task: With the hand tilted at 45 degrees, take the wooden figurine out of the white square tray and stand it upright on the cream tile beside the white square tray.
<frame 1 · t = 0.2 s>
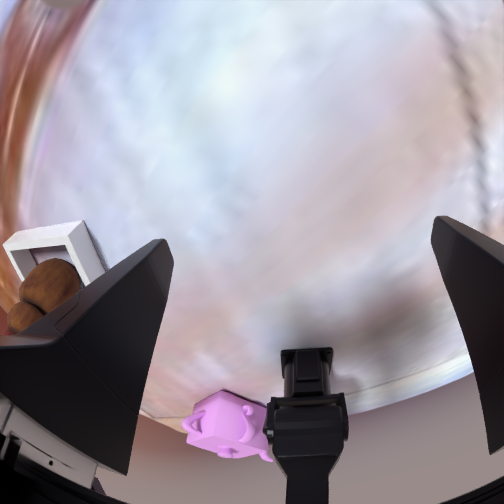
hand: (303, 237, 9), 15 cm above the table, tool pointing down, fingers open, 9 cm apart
white square tray: (66, 271, 31), on the table
teapot: (234, 405, 46), on the table
wooden figurine: (66, 270, 31), resting in white square tray
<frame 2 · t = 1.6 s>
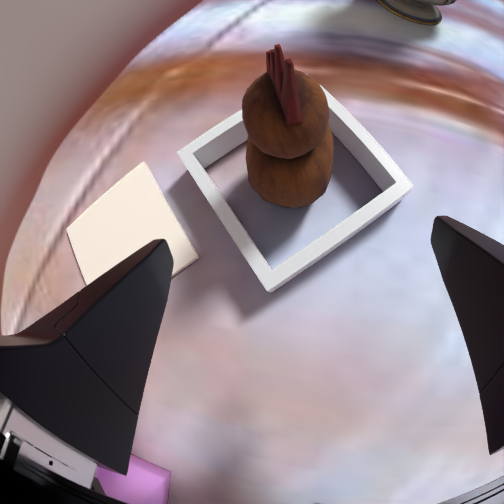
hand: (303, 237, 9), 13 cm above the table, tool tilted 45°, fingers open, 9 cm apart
white square tray: (293, 179, 23), on the table
teapot: (130, 485, 21), on the table
wooden figurine: (293, 180, 24), resting in white square tray
apothecary jar: (409, 6, 25), on the table
tile: (123, 241, 25), on the table
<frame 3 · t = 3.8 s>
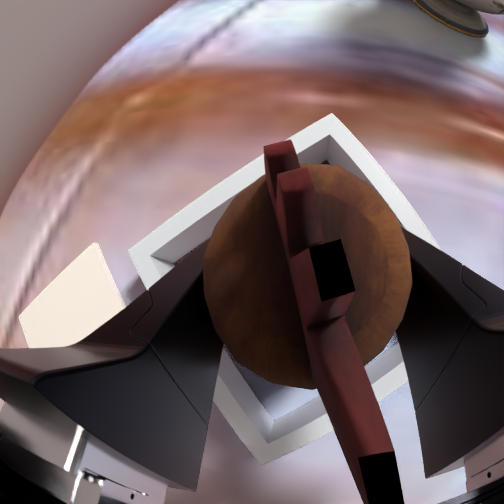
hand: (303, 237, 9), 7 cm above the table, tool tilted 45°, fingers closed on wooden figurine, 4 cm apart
white square tray: (304, 290, 16), on the table
wooden figurine: (304, 290, 16), resting in white square tray, touching gripper
apothecary jar: (449, 10, 17), on the table
tile: (79, 349, 18), on the table
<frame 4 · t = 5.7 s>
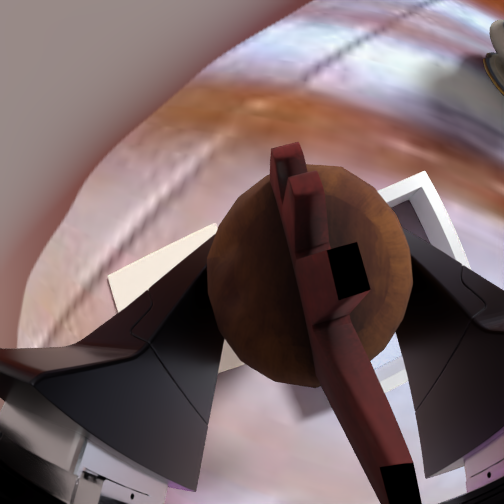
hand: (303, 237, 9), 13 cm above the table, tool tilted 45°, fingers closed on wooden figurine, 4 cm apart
white square tray: (382, 290, 21), on the table
wooden figurine: (303, 289, 16), point 6 cm above the table, touching gripper
tile: (180, 313, 23), on the table
when the fingers open (8 cm above the table, at t = 7.9 s): wooden figurine stays where it is, resting on tile.
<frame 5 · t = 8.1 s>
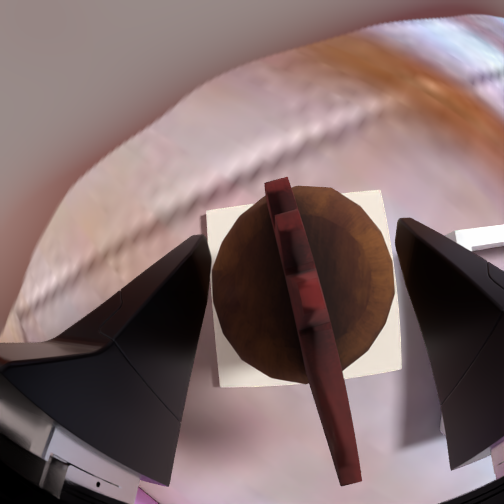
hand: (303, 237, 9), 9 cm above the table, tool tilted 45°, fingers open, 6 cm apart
wooden figurine: (303, 292, 17), resting on tile
tile: (304, 290, 17), on the table
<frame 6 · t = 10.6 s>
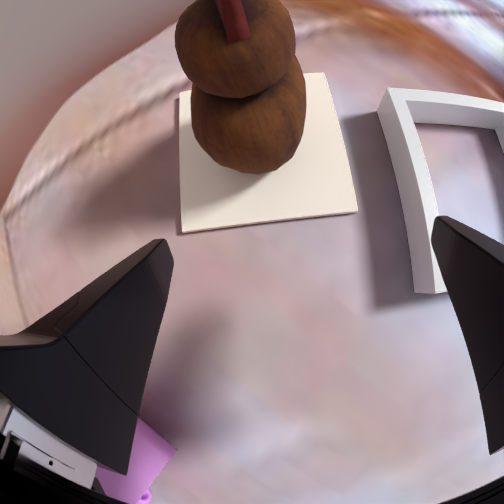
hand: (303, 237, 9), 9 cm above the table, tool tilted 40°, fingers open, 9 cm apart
white square tray: (471, 190, 17), on the table
teapot: (101, 437, 18), on the table
wooden figurine: (259, 142, 19), resting on tile
tile: (260, 143, 19), on the table
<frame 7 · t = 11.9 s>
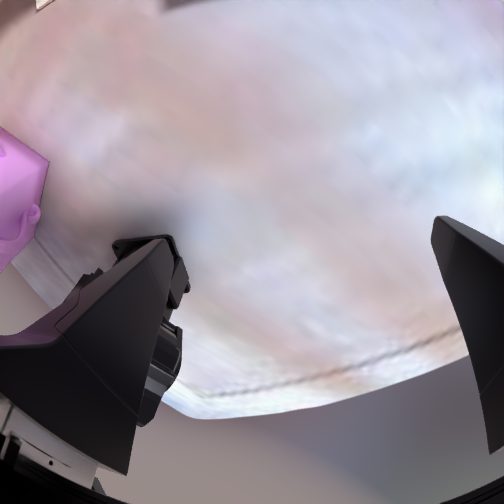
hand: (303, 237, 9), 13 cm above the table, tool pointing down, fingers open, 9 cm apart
teapot: (16, 181, 23), on the table
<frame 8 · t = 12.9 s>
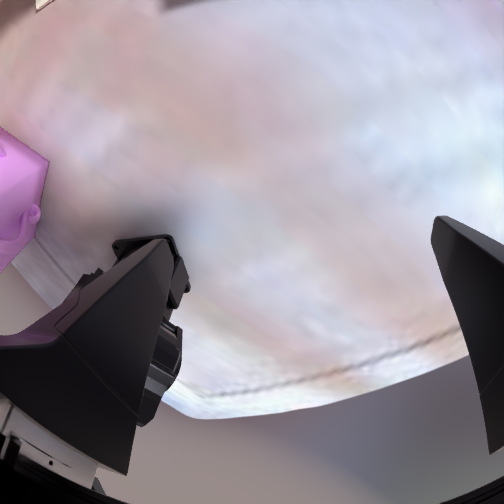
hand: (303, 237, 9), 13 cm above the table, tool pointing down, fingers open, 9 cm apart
teapot: (16, 181, 23), on the table
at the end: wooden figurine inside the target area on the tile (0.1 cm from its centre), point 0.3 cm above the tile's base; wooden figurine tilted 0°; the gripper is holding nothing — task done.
